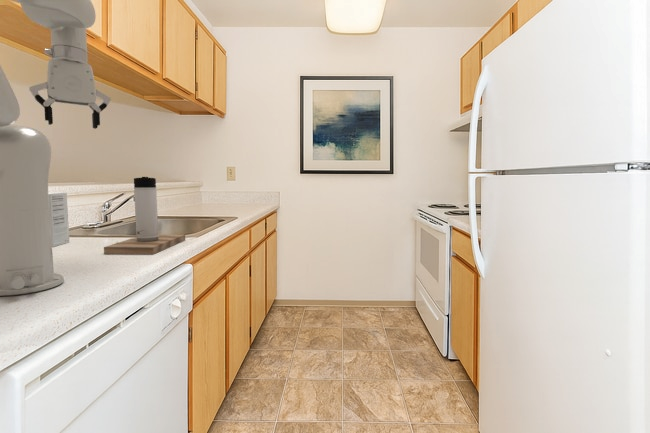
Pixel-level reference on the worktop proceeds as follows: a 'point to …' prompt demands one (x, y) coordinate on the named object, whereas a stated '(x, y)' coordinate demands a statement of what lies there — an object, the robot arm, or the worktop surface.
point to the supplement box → (58, 218)
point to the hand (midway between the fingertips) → (73, 126)
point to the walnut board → (144, 245)
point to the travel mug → (146, 209)
